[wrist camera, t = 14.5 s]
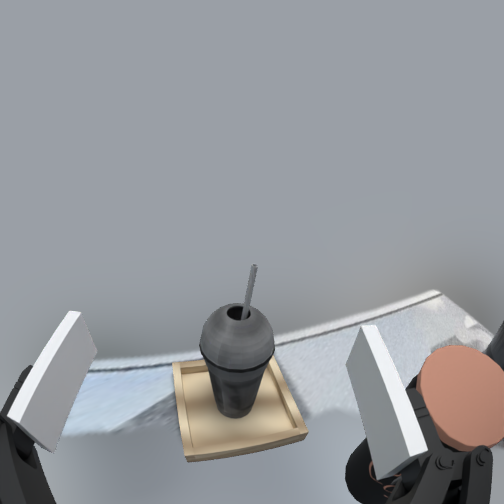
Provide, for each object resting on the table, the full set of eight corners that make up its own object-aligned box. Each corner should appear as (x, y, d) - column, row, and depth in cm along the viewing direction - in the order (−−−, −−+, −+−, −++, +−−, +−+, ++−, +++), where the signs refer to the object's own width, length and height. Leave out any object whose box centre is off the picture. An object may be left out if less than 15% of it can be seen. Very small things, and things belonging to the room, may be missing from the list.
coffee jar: (324, 492, 20) (404, 423, 12) (364, 428, 28) (430, 329, 20) (399, 520, 15) (515, 458, 7) (427, 454, 22) (514, 364, 14)
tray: (304, 439, 27) (308, 431, 26) (187, 462, 23) (184, 455, 22) (269, 361, 39) (271, 350, 38) (174, 373, 35) (172, 362, 34)
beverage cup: (197, 390, 32) (184, 254, 23) (247, 375, 35) (260, 242, 26) (218, 435, 26) (213, 304, 17) (274, 415, 30) (306, 282, 20)
